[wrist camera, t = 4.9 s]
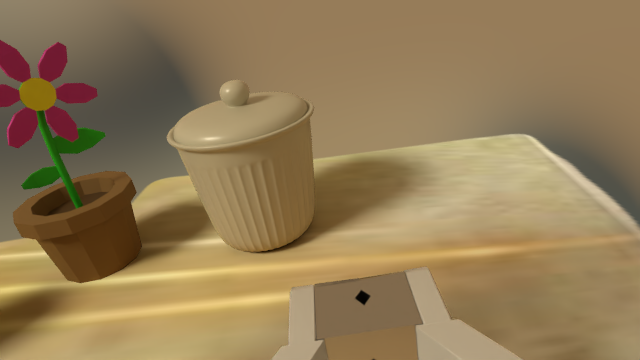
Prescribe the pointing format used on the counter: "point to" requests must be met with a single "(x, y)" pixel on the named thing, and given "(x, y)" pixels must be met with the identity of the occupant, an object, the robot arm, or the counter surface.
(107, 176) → the flowerpot
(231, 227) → the canister
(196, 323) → the counter surface
